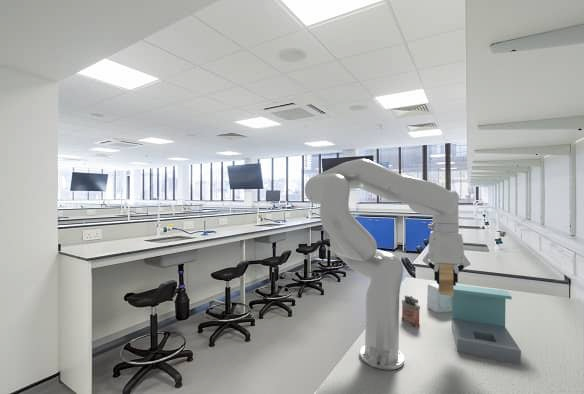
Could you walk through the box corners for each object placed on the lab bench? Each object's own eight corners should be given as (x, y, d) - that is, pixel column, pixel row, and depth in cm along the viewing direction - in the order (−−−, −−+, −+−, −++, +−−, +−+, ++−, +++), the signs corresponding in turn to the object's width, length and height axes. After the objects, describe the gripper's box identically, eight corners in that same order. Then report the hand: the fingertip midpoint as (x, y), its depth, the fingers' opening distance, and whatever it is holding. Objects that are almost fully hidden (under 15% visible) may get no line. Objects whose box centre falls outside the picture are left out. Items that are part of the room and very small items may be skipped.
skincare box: (438, 313, 120) (438, 288, 120) (426, 307, 126) (426, 283, 126) (457, 310, 123) (458, 286, 123) (445, 305, 129) (446, 282, 129)
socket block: (522, 364, 83) (523, 309, 83) (455, 351, 90) (455, 299, 90) (506, 337, 99) (506, 291, 99) (450, 327, 106) (450, 284, 106)
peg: (453, 295, 92) (453, 264, 92) (439, 294, 94) (439, 263, 94) (451, 291, 96) (451, 261, 96) (438, 290, 97) (438, 261, 97)
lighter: (399, 319, 113) (399, 293, 113) (406, 318, 114) (406, 293, 114) (414, 328, 106) (415, 300, 106) (422, 326, 107) (422, 299, 107)
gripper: (417, 228, 94) (418, 284, 94) (477, 230, 88) (478, 290, 88) (417, 226, 101) (418, 278, 101) (472, 227, 95) (473, 283, 95)
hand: (445, 283), depth 95 cm, fingers closed on peg, 4 cm apart
